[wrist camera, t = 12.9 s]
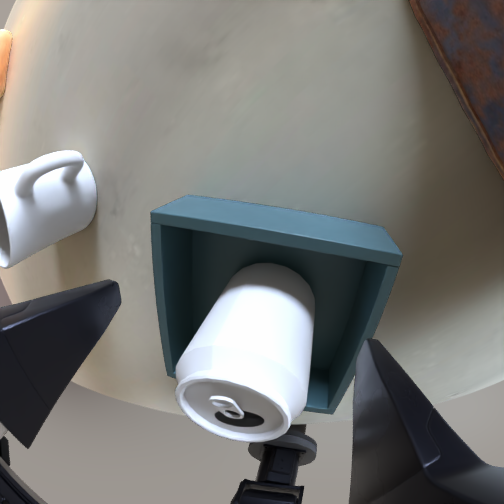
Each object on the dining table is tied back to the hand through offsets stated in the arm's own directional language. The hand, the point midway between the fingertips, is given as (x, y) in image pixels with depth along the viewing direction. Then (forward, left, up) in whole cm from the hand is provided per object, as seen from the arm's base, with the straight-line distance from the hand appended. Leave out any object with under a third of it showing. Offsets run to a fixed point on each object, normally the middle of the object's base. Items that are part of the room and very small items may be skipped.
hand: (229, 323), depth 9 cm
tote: (-7, 0, -13) cm, 15 cm away
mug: (+1, +21, -13) cm, 25 cm away
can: (-7, 0, -13) cm, 14 cm away
